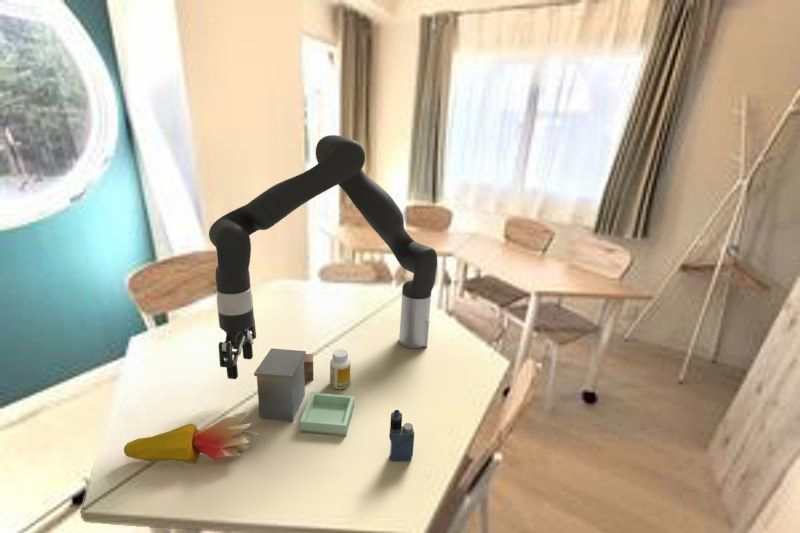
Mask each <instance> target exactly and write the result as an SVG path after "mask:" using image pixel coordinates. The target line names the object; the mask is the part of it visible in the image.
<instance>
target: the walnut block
mask: <svg viewBox="0 0 800 533" xmlns="http://www.w3.org/2000/svg"><path fill="white" fill-rule="evenodd" d="M304 377H305V382H308V381H309V382H310V381H314V353H306V355H305V357H304Z"/></svg>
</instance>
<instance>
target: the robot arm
mask: <svg viewBox="0 0 800 533" xmlns="http://www.w3.org/2000/svg"><path fill="white" fill-rule="evenodd" d="M315 159H316V161H317V163H316V164H315V165H314V166H313V167H311V168H309V169H308V170H306V171H304V172H302V173H299V174H297V175H295V176H292V177H290V178H288V179H286V180H282V181H281V182H279V183H276V184H274V185H272V186H271V187H269V188H268V189H266V190H264V191H263V192H262V193H260V194H259V195H258V196H256V197H255V198H253V199H252V200H251V201H250V202H248V203H247V204H245V205H243V206H242V205H241V206H240V207H238V208H236V209H234V210H232V211H230V212H227V213H226V214H224V215H222V216H221V217H219V218H218V219H217V220H216V221H214V222H213V223H212V225H211V226H210V227H209V231H208V236H209V238H208V239H209V241H210V242H211V244H212V246H214V247H215V250H216V256H217V266H216V268H215V282H216V283H215V284H216V308H217V314H218V315H217V316H218V323H219V324H218V325H219V328H220V329H221V331H224V333H225V341H224V342H223V341H219V342H218V355H219V356H218V357H219V366H220V368H226V374H227V379H231V380H237V379H238V377H239V372H238V371H239V370H238V364H237V363H238V358H239V356H240V355H241V354H242V358H243V359H244V360H252V359H253V357H254V353H253V345H254V340H255V339H256V338H257V331H256V330H257V329H256V320H255V313H254V302H253V301H254V300H253V299H254V298H253V293H252V290H251V289H252V288H251V277H250V276H251V274H250V263H251V252H252V242H251V238H250V236H251V235H253V234H255V233H257V231H266V230H268V229H271V228H272V227H273V226H275V225H276V224H277V223H279V222H280V221H282V220H283V219H285V218H286V217H287V216H288V215H290V214H291V213H292V212H294V211H295V210H297V209H299V208H300V207H301V206H303V205H304V204H306V203H308V202H309V201H310V200H312V199H314V198H315V197H317V196H320V195H321V194H323V193H325V192H326V191H328V190H330V189H333V187H336V186H339V187H340V188H341V189H342V190H343V191H344V193H345V194H346V195H347V196H348V198H349V200H350V201H351V202H352V204H353V205H354V206H355V208H356V209H357V211H358V212H359V213H360V215H361V216H362V217H363V218H364V219H365V221H366V222H367V223H368V224H369V225H370V226H371V228H372V229H373V231H375V233H376V234H377V235H378V236H379V237H380V239H381V240H382V241H383V242H384V243H385V244H386V245H387V246H388V247H389V249H390V250H391V252H392V254H393V255H394V257H395V258H396V261H397V262H398V264H399V265H400V266H401V268H403V269H404V270H406V271H407V272H409V273H413V278H412V280H408V281H406V282H404V283H403V284H402V290H401V291H402V292H401V304H400V305H401V308H400V324H399V336H398V338H399V343H400V345H402V346H403V347H406V348H409V349H421V348H427V347H428V342H429V341H428V340H429V330H430V329H429V328H430V314H431V313H430V310H431V300H432V291H433V288H434V286H435V282H436V274H437V270H438V254H437V252H436V250H435V249H434V248H433V247H430V246H428V245H424V244H422V243H420V242H417V241H415V240H414V239H413V238H412V237H411V235H409V234H408V232H407V231H406V229H405V222H404V221H405V220H404V215H403V213H402V211H401V209H400V208H399V206H398V205H397V203H396V202H395V201H394V198H392V196H391V195H390V194H389V193H388V192H387V191H386V190H385V189H384V188H383V187H382V186H380V185H379V184H378V183H376V182H375V181H374V180H373V179H372V178H371V177H369V176H368V175H367V173H366V172H365V171H364V170H363V167H364V165H365V162H366V153H365V149H364V148H363V146H362V145H361V143H360V142H358V141H357V140H354V139H351V138H349V137H346V136H341V135H336V134H333V135H331V134H330V135H325V136H323V137H322V138H321V139H319V140H318V141H317V144H316V146H315ZM234 350H235V351H234Z"/></svg>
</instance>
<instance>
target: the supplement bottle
mask: <svg viewBox="0 0 800 533" xmlns="http://www.w3.org/2000/svg"><path fill="white" fill-rule="evenodd" d="M329 366H330V367H329V375H330V376H329V378H330V379H329V383H330V386H331V387H332V388H333V389H335V390H343V389H347V388H348V387H349V386H350V384H351V359H350V358H349V352H348V350H346V349H343V348H338V349H336V350H334V351H332V357H331V359H330V362H329Z"/></svg>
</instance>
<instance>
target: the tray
mask: <svg viewBox="0 0 800 533" xmlns="http://www.w3.org/2000/svg"><path fill="white" fill-rule="evenodd" d="M354 408H355V396H354V395H345V394H333V393H321V392H311V394H310V396H309V400H308V401H307V404H306V406H305V408H304V411H303V413H302V415H301V418H300V420H299V432H300V433H305V434H317V435H329V436H337V437H339V436H340V437H347V435H348V430H349V426H350V423H351V419H352V416H353V411H354Z"/></svg>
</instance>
